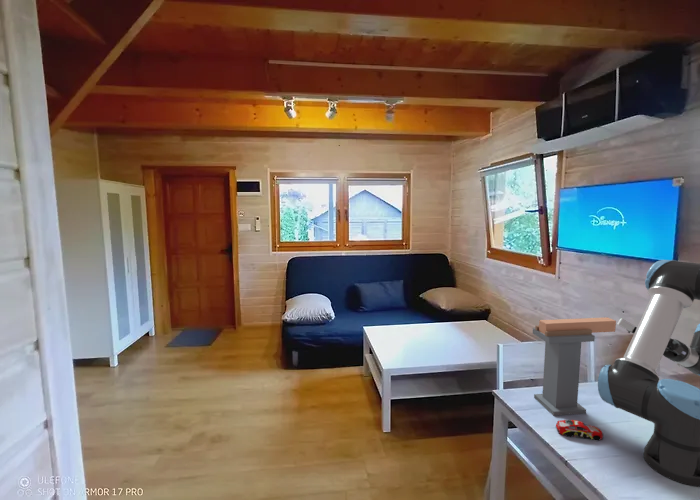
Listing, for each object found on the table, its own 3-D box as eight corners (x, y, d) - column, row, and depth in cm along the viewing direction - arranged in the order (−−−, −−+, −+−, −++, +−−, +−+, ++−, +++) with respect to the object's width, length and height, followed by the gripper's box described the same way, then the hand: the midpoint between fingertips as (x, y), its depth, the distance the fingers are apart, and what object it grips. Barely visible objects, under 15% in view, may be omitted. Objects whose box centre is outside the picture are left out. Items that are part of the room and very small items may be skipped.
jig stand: (569, 395, 145) (573, 321, 141) (591, 413, 133) (597, 332, 130) (527, 398, 144) (531, 323, 140) (546, 416, 132) (551, 334, 128)
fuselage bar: (606, 327, 139) (607, 317, 138) (615, 331, 135) (616, 320, 134) (538, 330, 136) (539, 320, 136) (545, 334, 132) (546, 323, 132)
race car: (599, 433, 123) (600, 421, 122) (605, 443, 118) (606, 431, 117) (554, 426, 127) (555, 415, 126) (558, 436, 121) (559, 424, 121)
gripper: (707, 376, 128) (659, 349, 125) (644, 348, 153) (603, 324, 150) (719, 357, 127) (671, 330, 125) (654, 332, 152) (613, 308, 149)
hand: (634, 327), depth 137 cm, fingers open, 13 cm apart
